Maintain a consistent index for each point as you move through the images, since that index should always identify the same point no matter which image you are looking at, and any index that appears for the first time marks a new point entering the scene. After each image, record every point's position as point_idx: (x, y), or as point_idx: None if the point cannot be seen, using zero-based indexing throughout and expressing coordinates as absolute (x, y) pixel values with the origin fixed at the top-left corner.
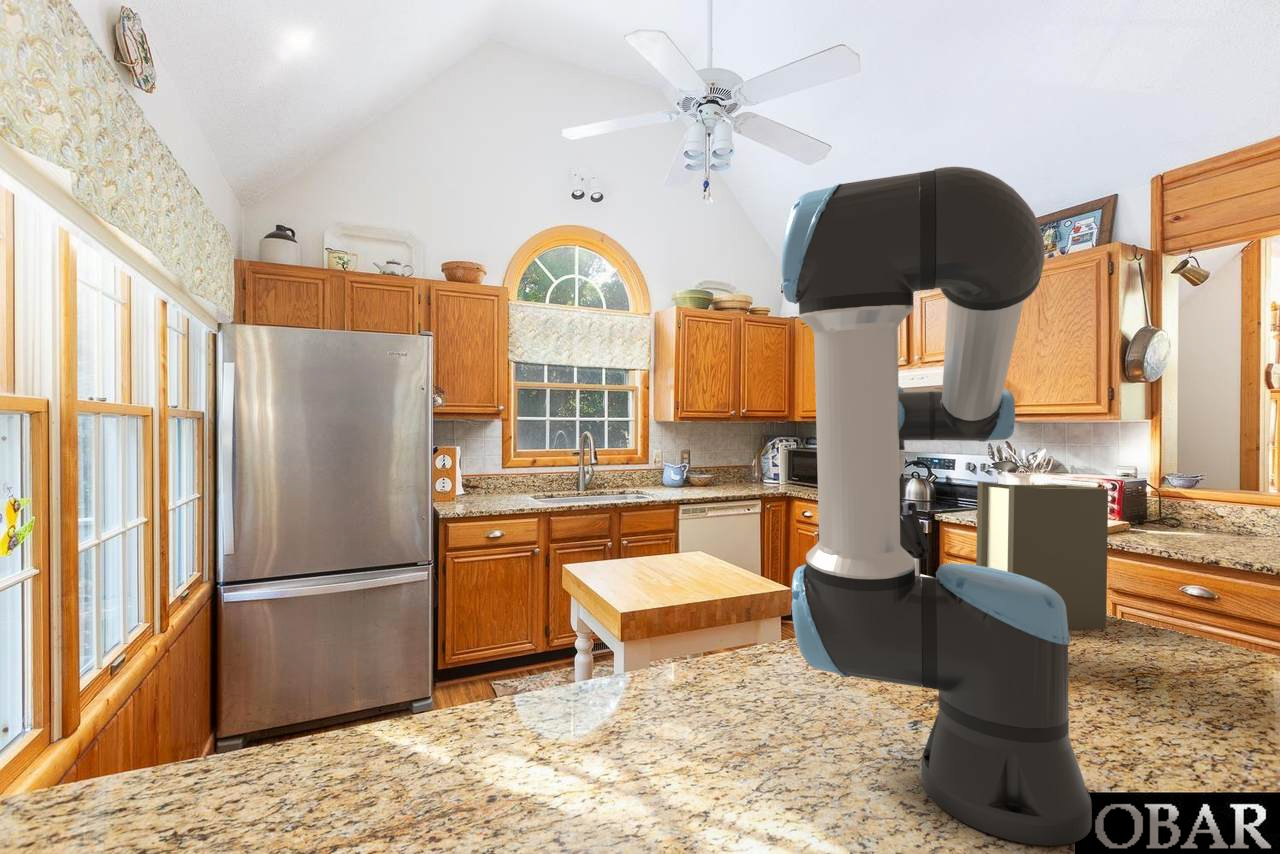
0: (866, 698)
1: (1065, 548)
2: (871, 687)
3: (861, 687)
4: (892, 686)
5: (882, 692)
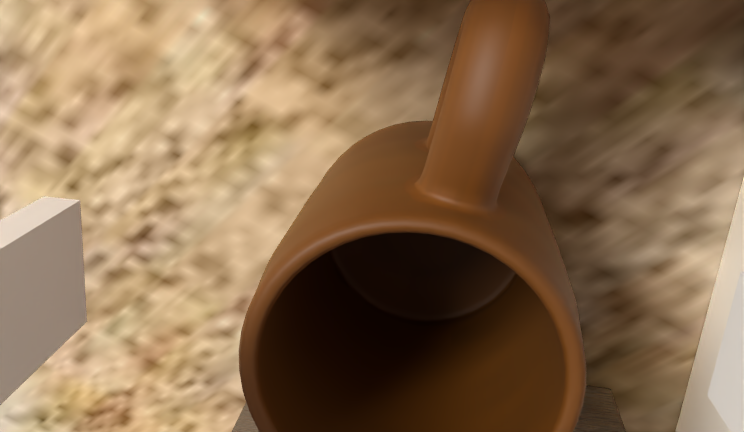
0: (7, 425)
1: None
2: (84, 382)
3: (49, 364)
4: (163, 414)
5: (92, 425)
